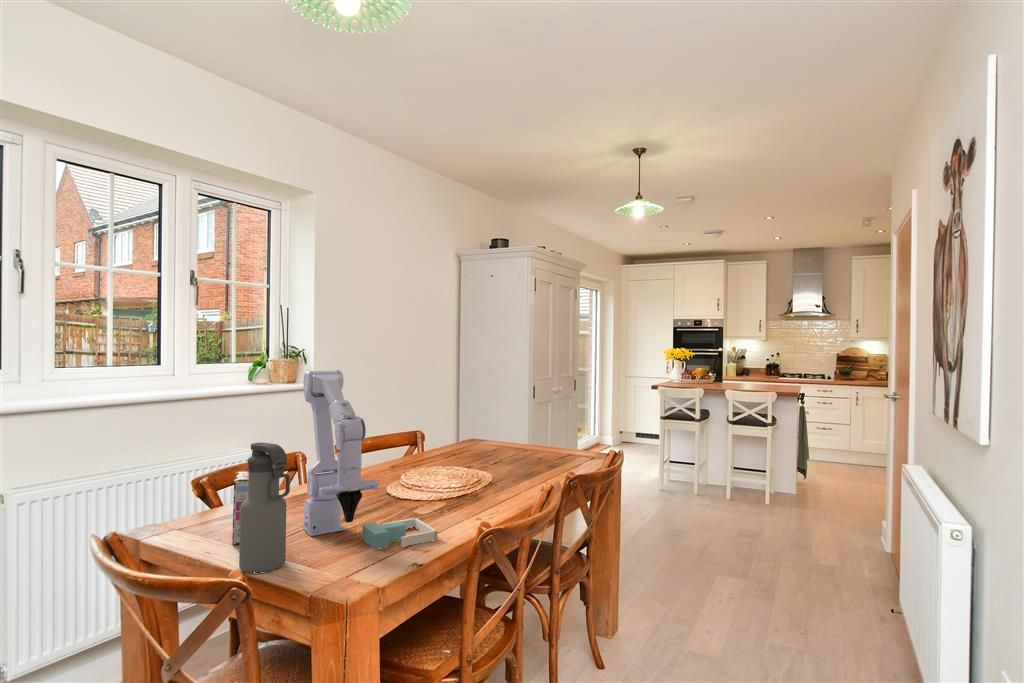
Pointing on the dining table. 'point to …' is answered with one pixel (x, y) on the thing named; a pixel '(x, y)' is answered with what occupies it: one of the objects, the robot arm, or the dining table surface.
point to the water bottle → (264, 511)
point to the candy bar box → (239, 502)
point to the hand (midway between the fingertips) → (348, 521)
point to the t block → (383, 533)
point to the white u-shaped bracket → (425, 536)
